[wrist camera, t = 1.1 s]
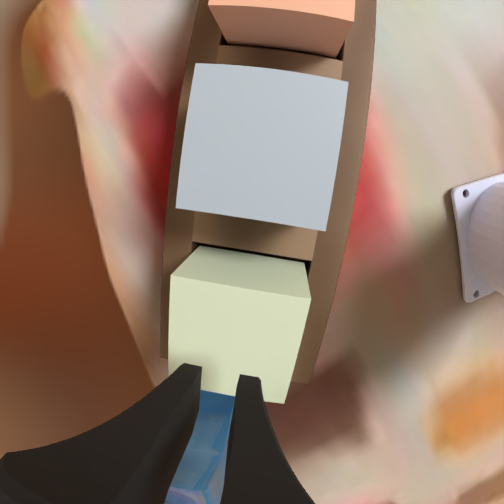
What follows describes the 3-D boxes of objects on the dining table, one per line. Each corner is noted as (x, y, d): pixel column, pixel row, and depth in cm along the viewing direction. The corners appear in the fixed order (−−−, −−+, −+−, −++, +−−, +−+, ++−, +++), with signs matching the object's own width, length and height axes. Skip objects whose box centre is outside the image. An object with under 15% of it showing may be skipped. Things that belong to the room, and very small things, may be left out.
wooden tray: (365, -15, 13) (376, -38, 10) (306, 356, 20) (308, 383, 17) (224, -33, 14) (215, -57, 11) (175, 333, 21) (160, 356, 18)
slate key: (330, 104, 14) (348, 82, 9) (313, 212, 15) (325, 231, 11) (219, 89, 14) (195, 63, 10) (204, 195, 15) (175, 208, 11)
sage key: (304, 262, 16) (311, 299, 12) (284, 351, 17) (283, 403, 13) (199, 245, 16) (170, 275, 12) (192, 334, 18) (168, 381, 13)
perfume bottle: (159, 384, 22) (95, 506, 11) (236, 388, 22) (204, 532, 10) (176, 435, 24) (134, 545, 13) (245, 440, 23) (224, 562, 12)
